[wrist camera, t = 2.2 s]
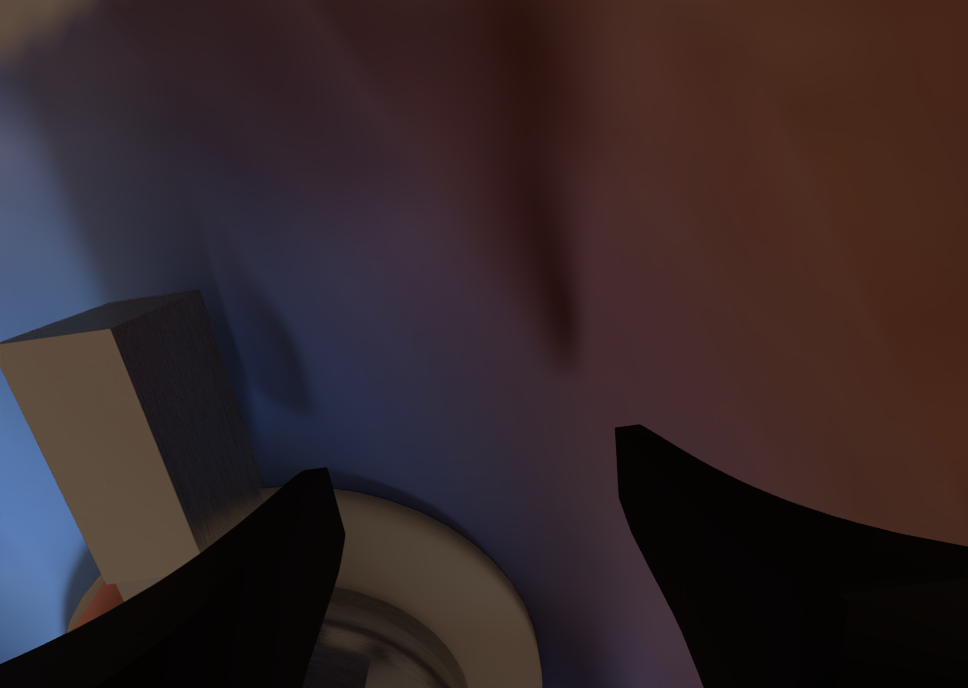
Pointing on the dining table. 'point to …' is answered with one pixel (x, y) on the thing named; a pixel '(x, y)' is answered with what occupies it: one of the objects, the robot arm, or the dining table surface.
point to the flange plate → (417, 588)
